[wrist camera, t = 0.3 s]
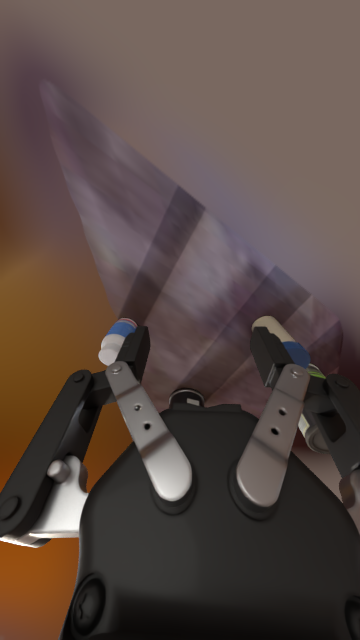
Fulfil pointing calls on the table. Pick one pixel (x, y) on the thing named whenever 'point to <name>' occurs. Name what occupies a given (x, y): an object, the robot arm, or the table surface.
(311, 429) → the coffee can
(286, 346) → the lid
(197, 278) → the table surface
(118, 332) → the pill bottle
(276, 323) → the jar
